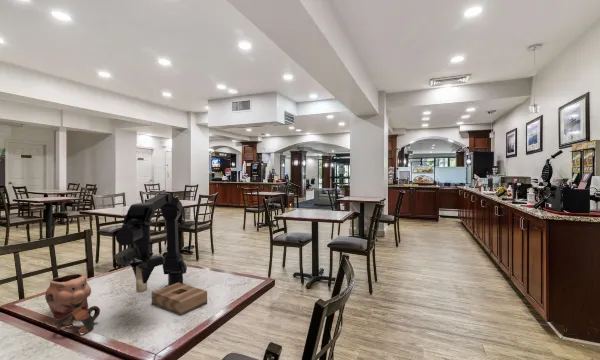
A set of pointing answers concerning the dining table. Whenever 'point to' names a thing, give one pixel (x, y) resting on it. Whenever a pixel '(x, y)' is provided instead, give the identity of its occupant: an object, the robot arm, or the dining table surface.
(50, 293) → the decorative planter
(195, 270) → the dining table surface
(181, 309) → the walnut socket block
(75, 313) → the pottery mug
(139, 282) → the maple dowel
